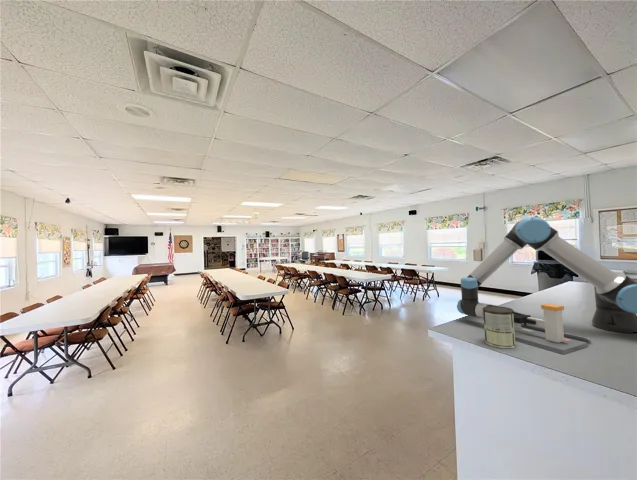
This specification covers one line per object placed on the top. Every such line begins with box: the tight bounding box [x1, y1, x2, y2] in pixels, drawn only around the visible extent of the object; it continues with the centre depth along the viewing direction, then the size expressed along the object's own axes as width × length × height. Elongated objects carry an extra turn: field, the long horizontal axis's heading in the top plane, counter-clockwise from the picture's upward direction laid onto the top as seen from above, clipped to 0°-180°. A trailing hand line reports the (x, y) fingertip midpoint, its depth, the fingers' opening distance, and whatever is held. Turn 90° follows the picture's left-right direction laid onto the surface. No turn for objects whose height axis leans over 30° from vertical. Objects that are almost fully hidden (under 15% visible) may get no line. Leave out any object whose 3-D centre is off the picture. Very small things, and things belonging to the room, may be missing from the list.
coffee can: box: [483, 305, 517, 349], centre depth 104 cm, size 10×10×14 cm
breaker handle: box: [540, 303, 565, 343], centre depth 101 cm, size 5×5×14 cm
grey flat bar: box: [520, 323, 592, 344], centre depth 110 cm, size 23×4×2 cm, turn 22°
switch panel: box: [514, 324, 589, 355], centre depth 106 cm, size 26×16×2 cm, turn 22°
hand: (546, 324), depth 103 cm, fingers closed
